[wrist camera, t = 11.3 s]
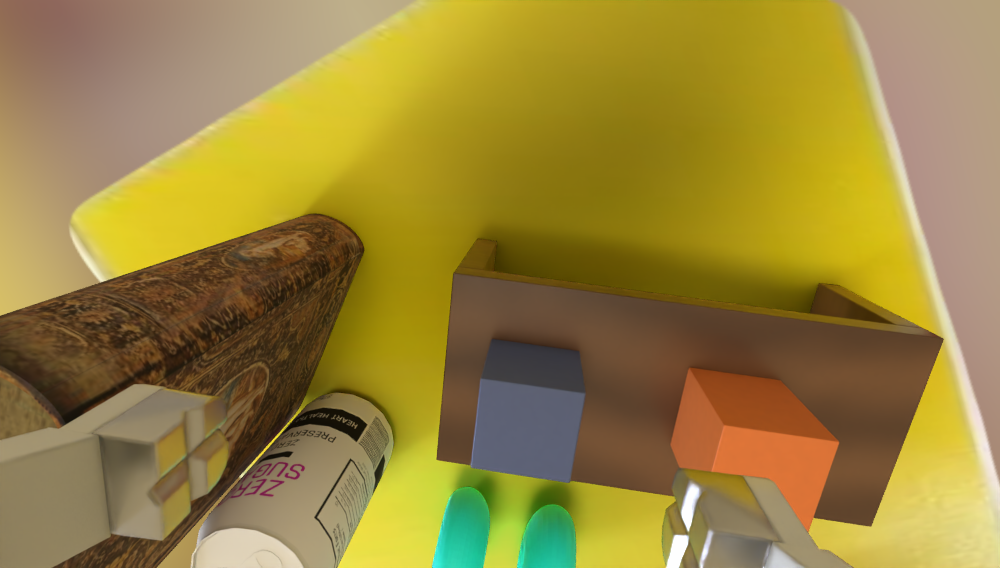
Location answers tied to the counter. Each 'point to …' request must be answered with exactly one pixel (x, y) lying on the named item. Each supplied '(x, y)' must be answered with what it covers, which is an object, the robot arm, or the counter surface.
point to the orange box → (754, 435)
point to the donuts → (467, 530)
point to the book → (185, 348)
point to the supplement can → (302, 491)
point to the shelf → (692, 344)
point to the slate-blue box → (529, 411)
